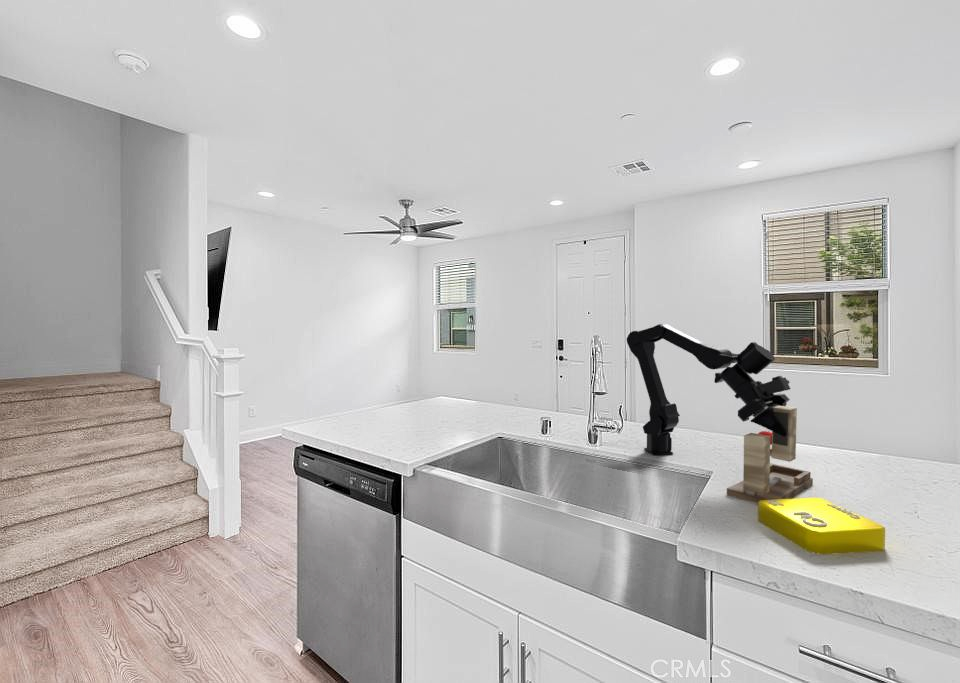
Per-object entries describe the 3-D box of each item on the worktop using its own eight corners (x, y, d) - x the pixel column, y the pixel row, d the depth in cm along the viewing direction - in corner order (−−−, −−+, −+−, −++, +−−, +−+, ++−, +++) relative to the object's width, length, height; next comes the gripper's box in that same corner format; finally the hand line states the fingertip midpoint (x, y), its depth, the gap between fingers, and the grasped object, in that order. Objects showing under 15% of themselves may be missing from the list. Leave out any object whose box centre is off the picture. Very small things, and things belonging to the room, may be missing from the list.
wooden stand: (774, 508, 98) (775, 442, 97) (726, 494, 106) (727, 433, 105) (812, 484, 112) (813, 426, 112) (768, 473, 120) (769, 420, 120)
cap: (754, 441, 141) (773, 433, 138) (752, 431, 146) (770, 423, 143) (769, 460, 142) (788, 454, 138) (766, 450, 147) (785, 443, 143)
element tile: (891, 552, 80) (892, 525, 79) (813, 557, 78) (814, 530, 78) (819, 516, 94) (819, 494, 94) (752, 520, 93) (753, 497, 93)
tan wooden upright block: (777, 455, 116) (778, 405, 116) (795, 458, 113) (796, 407, 113) (770, 458, 114) (771, 407, 113) (788, 462, 110) (789, 410, 110)
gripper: (752, 368, 110) (804, 420, 102) (781, 363, 121) (830, 410, 113) (718, 395, 117) (764, 447, 108) (749, 389, 128) (793, 435, 119)
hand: (789, 434), depth 112 cm, fingers closed on tan wooden upright block, 5 cm apart
